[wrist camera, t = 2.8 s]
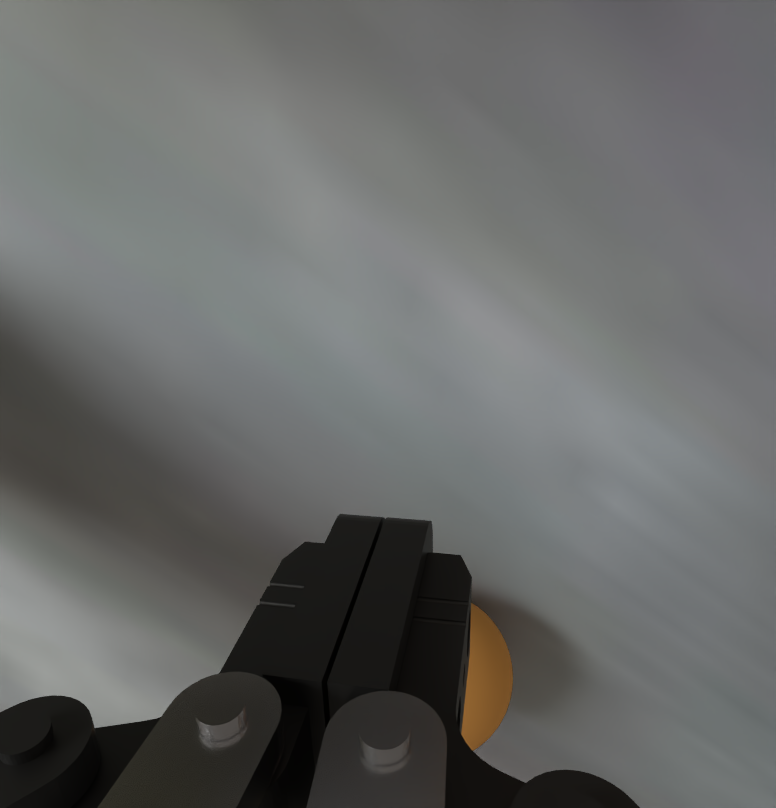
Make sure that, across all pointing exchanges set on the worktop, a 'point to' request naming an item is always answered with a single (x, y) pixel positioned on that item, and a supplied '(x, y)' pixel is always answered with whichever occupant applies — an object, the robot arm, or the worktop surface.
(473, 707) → the ball
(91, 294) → the worktop surface
